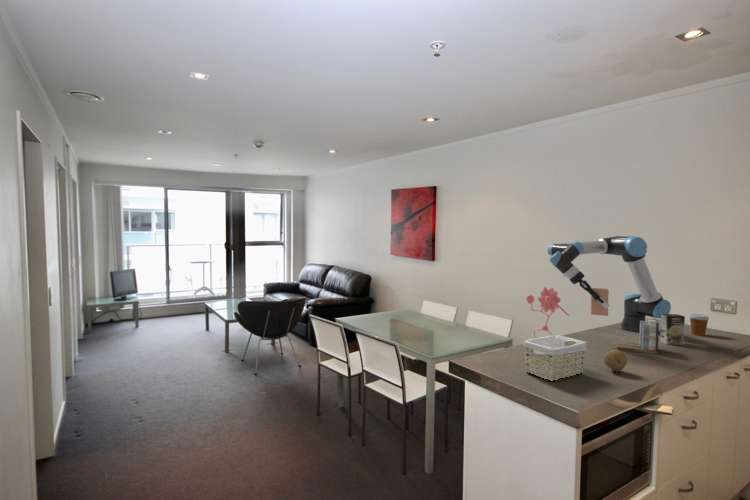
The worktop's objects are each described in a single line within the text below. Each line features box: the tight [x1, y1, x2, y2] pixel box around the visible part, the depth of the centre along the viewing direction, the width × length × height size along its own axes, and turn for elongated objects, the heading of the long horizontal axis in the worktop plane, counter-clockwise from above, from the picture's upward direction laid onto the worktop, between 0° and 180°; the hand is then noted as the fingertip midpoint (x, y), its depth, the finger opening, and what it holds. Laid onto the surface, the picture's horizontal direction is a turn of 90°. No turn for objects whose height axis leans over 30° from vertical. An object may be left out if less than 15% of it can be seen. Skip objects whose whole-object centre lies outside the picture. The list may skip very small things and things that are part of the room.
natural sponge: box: [603, 349, 628, 373], centre depth 182 cm, size 9×9×10 cm
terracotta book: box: [590, 287, 610, 317], centre depth 223 cm, size 5×8×14 cm, turn 66°
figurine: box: [526, 286, 570, 338], centre depth 203 cm, size 15×26×35 cm, turn 27°
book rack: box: [613, 316, 660, 355], centre depth 218 cm, size 12×18×16 cm, turn 67°
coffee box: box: [659, 313, 686, 346], centre depth 229 cm, size 9×6×16 cm
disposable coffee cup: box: [689, 313, 710, 337], centre depth 247 cm, size 10×10×12 cm
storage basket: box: [523, 334, 588, 379], centre depth 180 cm, size 24×16×15 cm
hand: (607, 306), depth 222 cm, fingers closed on terracotta book, 5 cm apart
